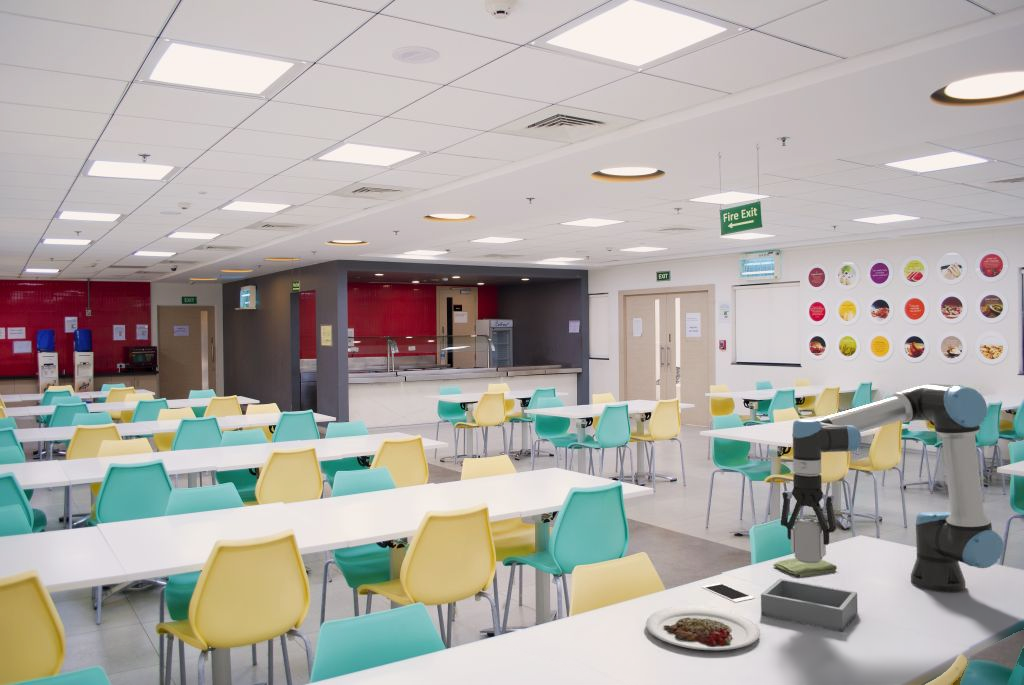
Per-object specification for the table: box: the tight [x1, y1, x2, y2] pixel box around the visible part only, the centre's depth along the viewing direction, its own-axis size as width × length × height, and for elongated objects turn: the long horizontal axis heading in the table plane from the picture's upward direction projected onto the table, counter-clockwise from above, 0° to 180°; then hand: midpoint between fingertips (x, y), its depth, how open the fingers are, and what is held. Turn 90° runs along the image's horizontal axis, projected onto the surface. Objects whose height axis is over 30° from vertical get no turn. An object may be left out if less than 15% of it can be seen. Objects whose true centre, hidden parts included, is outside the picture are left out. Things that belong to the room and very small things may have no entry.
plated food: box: [645, 605, 761, 651], centre depth 203 cm, size 30×30×3 cm
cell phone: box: [701, 582, 756, 603], centre depth 234 cm, size 8×16×1 cm, turn 25°
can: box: [793, 516, 823, 563], centre depth 215 cm, size 8×8×12 cm
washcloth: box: [773, 557, 838, 578], centre depth 256 cm, size 13×18×3 cm
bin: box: [760, 578, 858, 633], centre depth 215 cm, size 22×17×6 cm
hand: (808, 553), depth 215 cm, fingers closed on can, 7 cm apart
